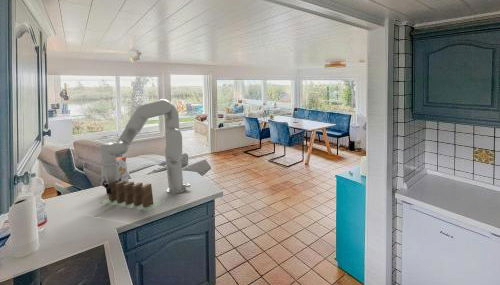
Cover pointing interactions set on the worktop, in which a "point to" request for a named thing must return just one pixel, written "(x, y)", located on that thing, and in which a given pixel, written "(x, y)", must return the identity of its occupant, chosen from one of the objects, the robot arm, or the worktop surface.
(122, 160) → the cracker box
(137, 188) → the domino
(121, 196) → the domino
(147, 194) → the domino
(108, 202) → the mat
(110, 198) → the domino
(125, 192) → the domino
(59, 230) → the worktop surface
